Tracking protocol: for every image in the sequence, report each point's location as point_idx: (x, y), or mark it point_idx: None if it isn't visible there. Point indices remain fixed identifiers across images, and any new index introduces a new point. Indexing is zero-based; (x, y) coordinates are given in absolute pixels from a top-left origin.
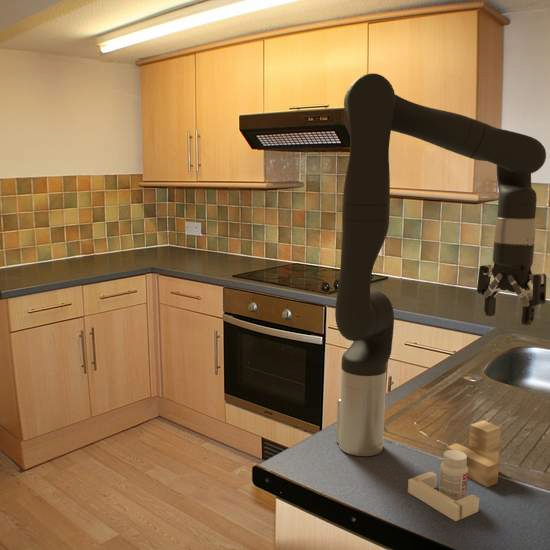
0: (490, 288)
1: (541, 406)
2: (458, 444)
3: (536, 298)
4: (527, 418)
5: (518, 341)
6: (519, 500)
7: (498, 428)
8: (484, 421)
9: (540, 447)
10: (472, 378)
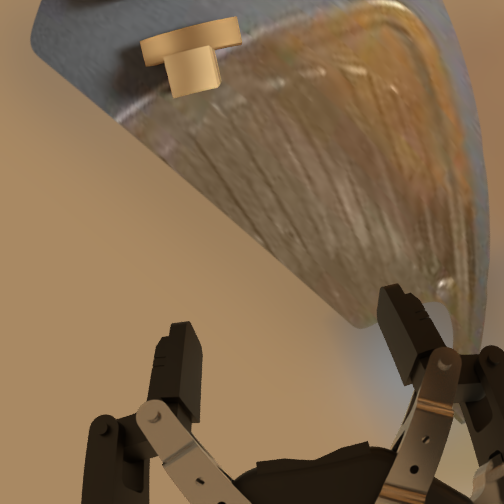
0: (434, 411)
1: (336, 305)
2: (234, 41)
3: (95, 449)
4: (318, 264)
5: None
6: (104, 68)
7: (171, 90)
8: (212, 84)
9: (231, 210)
10: (444, 287)
